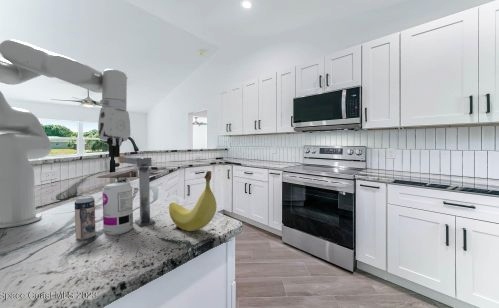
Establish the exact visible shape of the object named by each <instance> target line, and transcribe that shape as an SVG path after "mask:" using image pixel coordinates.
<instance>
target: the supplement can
mask: <svg viewBox="0 0 499 308" xmlns="http://www.w3.org/2000/svg"><path fill="white" fill-rule="evenodd" d="M133 199H134V198H133V187H132V185H131V183H130V182H124V181H123V182H112V183H107V184H106V183H105V184H104V187H103V189H102V220H103V221H102V223H103V225H102V226H103V232H104V233H105V234H106V235H108V236H109V235H111V236H112V235H113V236H114V235H121V234H125V233H128V232H129V231H131V230H132V229H133V228H134V210H133V209H134V208H133V207H134V205H133V203H134V202H133Z"/></svg>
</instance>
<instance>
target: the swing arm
mask: <svg viewBox="0 0 499 308" xmlns="http://www.w3.org/2000/svg"><path fill="white" fill-rule="evenodd" d="M152 161H153V159H152V157H134V156H127V154H126V155H124V154H120V156H119V157H117V163H118V164H129V165H135V167H138V168H139V167H152V165H153V163H152Z"/></svg>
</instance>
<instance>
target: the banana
mask: <svg viewBox="0 0 499 308" xmlns="http://www.w3.org/2000/svg"><path fill="white" fill-rule="evenodd" d="M204 175H205V176H204V177H203V178H204V180H205V188H204V190H203V192H202V193H201V194H200V195H199V198H198V200H197V201H196V203H195V206H194V207H193V208H192V209H191V210H189V209H187V208H185V207H183V206H182V205H180V204H178V203H176V202H171V203H169V207H168V212H169V213H168V214H169V216H170V219H171V221H172V222H173V223H174V225H176V227H178V229H181V230H183V231H187V232H195V231H198V230H200V229H203V228H205V227H206V226H207V225H208V224H210V222H211V221H212V220H213V219H214V218H215V217H214V216H215V214H216V212H217V201H216V197H215V195H214V193H213V191H212V189H211V187H210V186H211V185H210V184H211V183H210V182H211V179H212V171H211V170H207V171H206V172H205V174H204Z"/></svg>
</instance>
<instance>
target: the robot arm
mask: <svg viewBox="0 0 499 308" xmlns="http://www.w3.org/2000/svg"><path fill="white" fill-rule="evenodd" d="M0 55H1V57H0V83H1V84H6V85H11V86H12V85H19V84H22V83H25V82H27V81H28V82H29V81H30V80H33V79H36V78H38V77H41V76H45V77H47V78H49V79H50V78H55V79H58V80H60V81H64V82H66V83H69V84H72V85H74V86H77V87H80V88H83V89H86V90H88V91H91V92H93V93H97V94H101V100H100V101H99V103H100V104H101V108H100V110H99V115H98V121H97V122H98V123H97V125H98V126H97V129H98V131H97V132H98V136H99V140H100V141H104V142H105V143H106V145H107V146H108V157H110V158H118V157H119V156H120V155H121V154H120V151H121V149H120V148H121V146H122V143H123V142H126V141H128V138H129V137H130V136H131V120H130V114H129V111H128V110H127V103H128V102H127V101H128V100H127V95H128V94H127V93H128V92H127V90H128V88H127V87H128V86H127V85H128V84H127V82H128V81H127V80H128V78H127V75H126V73H125V72H123V71H121V70H118V69H115V68H111V69H110V68H106V69H104V70H103V71H102V72H101V71H99V70H96V69H95V68H93V67H91V66H89V65H87V64H85V63H83V62H81V61H78V60H75V59H72V58H70V57H67V56H65V55H61V54H58V53H55V52H52V51H48V50H46V49H43V48H40V47H37V46H35V45H32V44H30V43H28V42H23V41H20V40H17V39H6V40H3V41H2V42H1V43H0ZM51 151H52V143H51V140H50V138H49V137H48V135H47V133H46V131H45V129H44V127H43V125H42V123H41V122H40V120H39V119H38V117H37V116H36V115H35V114H33V113H32V112H31V111H29V110H27V109H24V108H17V107H13V106H11V105H10V104H9V103H8V100H6V98H5V96H4V94H3V93H2V91H1V90H0V229H7V228H12V227H13V228H14V227H19V226H24V225H28V224H32V223H35V222H38V221H40V220H41V219H43V218H42V217H43V216H42V214H41V213H37V210H36V187H35V186H36V184H35V181H36V180H35V171H34V167H33V165H32V164H31V162H30V161H29V160H37V159H38V160H39V159H43V158H46V157H47V156H49V155H50V153H52V152H51Z"/></svg>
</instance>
